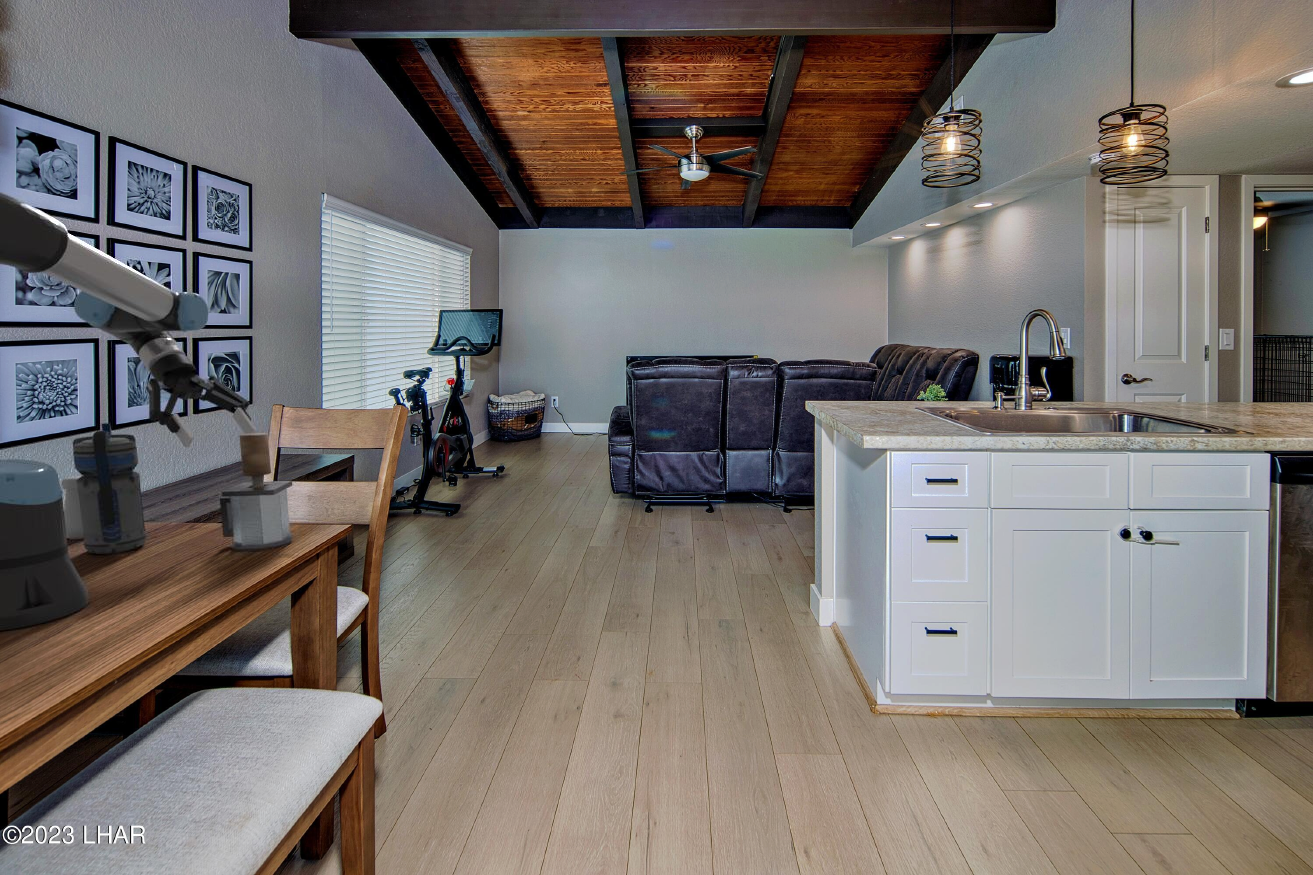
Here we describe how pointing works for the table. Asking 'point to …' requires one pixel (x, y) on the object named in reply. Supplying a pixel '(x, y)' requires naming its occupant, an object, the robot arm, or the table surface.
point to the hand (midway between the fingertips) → (222, 438)
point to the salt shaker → (72, 509)
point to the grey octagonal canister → (256, 516)
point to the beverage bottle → (109, 492)
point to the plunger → (255, 457)
